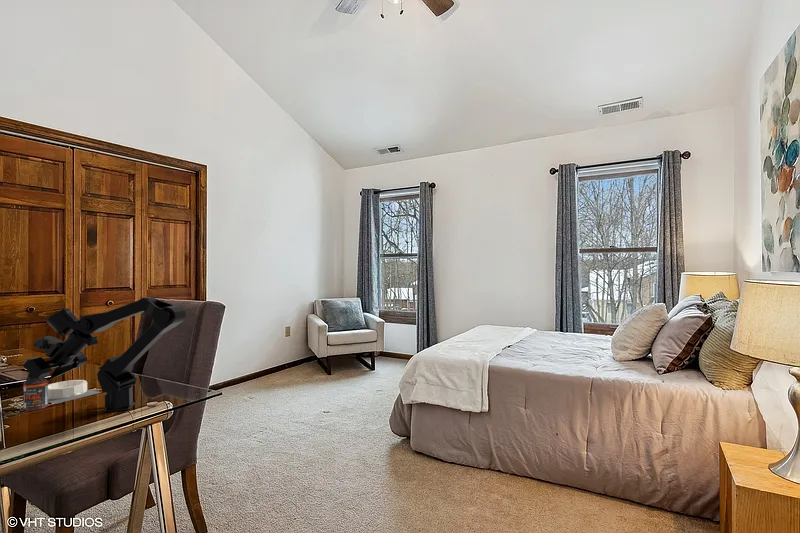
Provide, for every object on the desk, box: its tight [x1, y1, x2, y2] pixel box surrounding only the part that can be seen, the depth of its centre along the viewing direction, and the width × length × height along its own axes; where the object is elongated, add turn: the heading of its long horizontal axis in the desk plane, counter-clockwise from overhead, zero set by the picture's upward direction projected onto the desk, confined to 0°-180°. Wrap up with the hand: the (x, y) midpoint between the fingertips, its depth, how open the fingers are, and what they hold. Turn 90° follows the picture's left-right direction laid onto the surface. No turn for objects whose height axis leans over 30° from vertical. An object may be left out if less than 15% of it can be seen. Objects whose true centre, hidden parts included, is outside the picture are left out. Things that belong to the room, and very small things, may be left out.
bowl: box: [48, 379, 88, 400], centre depth 151 cm, size 12×12×4 cm
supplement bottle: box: [23, 377, 49, 412], centre depth 137 cm, size 6×6×11 cm
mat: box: [48, 388, 102, 405], centre depth 151 cm, size 18×14×1 cm
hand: (39, 381), depth 137 cm, fingers open, 9 cm apart
